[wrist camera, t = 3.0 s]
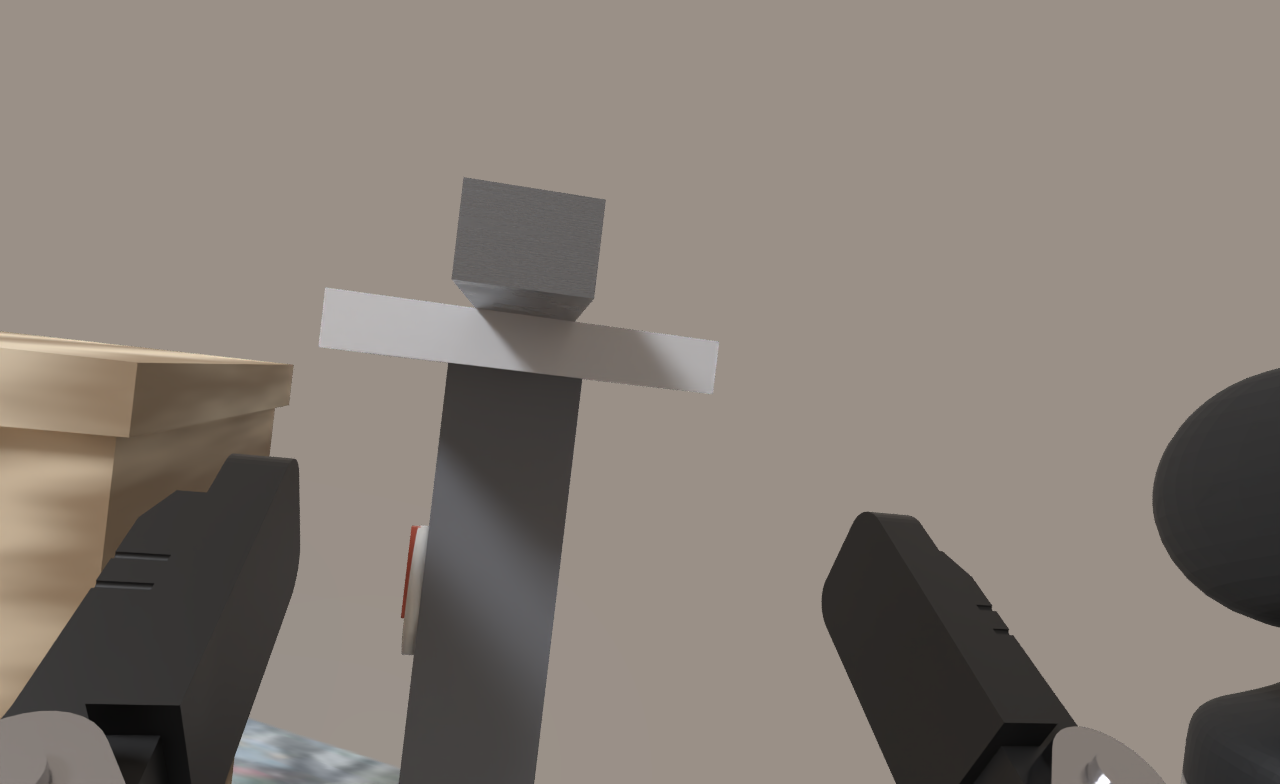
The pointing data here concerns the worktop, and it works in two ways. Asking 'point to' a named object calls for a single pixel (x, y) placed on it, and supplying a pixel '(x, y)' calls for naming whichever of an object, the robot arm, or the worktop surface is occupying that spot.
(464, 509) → the dial scale
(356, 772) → the worktop surface
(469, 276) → the steel bar
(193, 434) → the pine plinth
